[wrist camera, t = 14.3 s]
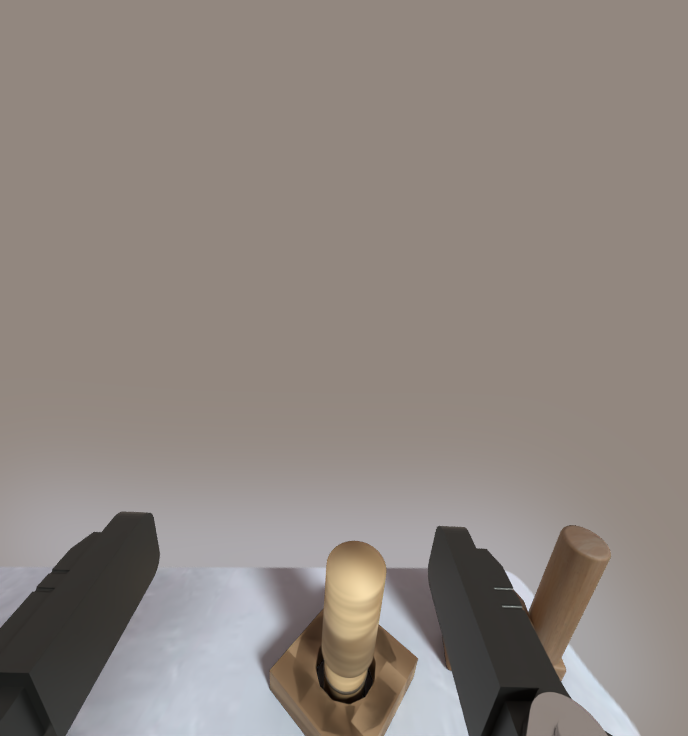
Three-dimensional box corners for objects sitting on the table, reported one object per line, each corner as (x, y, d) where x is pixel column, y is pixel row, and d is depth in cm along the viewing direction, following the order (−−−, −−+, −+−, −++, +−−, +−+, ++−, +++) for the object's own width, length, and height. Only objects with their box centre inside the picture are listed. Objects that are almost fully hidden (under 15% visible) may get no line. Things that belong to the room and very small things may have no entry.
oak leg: (347, 732, 29) (363, 610, 23) (308, 687, 31) (314, 568, 26) (377, 681, 32) (397, 564, 27) (340, 644, 35) (351, 531, 29)
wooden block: (441, 632, 37) (475, 507, 30) (541, 651, 36) (597, 526, 29) (446, 672, 33) (485, 541, 27) (557, 694, 32) (625, 563, 26)
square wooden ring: (352, 797, 25) (355, 778, 24) (269, 689, 31) (269, 670, 30) (413, 676, 33) (418, 658, 32) (337, 607, 38) (339, 590, 37)
